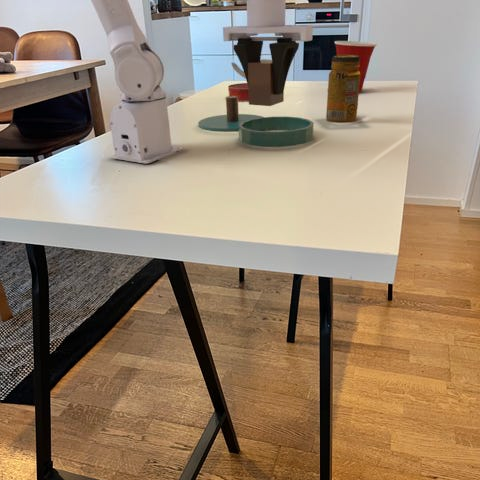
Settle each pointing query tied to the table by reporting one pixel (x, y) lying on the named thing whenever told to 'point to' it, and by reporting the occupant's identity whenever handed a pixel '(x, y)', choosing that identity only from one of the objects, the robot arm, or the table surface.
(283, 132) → the tin
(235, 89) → the canned food
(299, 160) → the table surface
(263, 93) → the block
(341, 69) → the condiment
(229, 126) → the lid
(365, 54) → the plastic cup
